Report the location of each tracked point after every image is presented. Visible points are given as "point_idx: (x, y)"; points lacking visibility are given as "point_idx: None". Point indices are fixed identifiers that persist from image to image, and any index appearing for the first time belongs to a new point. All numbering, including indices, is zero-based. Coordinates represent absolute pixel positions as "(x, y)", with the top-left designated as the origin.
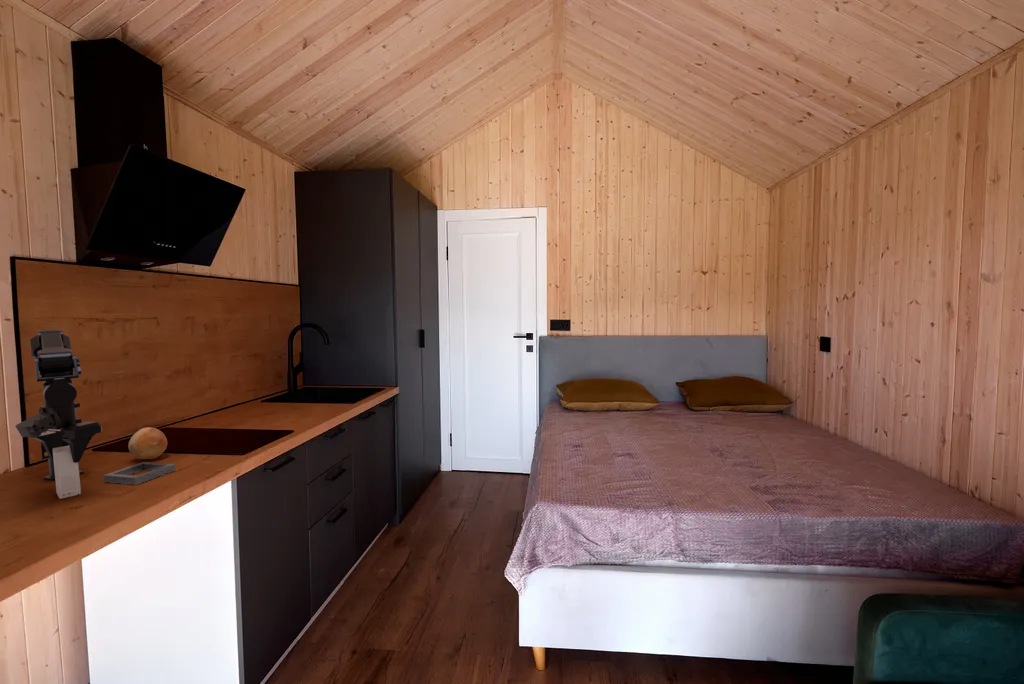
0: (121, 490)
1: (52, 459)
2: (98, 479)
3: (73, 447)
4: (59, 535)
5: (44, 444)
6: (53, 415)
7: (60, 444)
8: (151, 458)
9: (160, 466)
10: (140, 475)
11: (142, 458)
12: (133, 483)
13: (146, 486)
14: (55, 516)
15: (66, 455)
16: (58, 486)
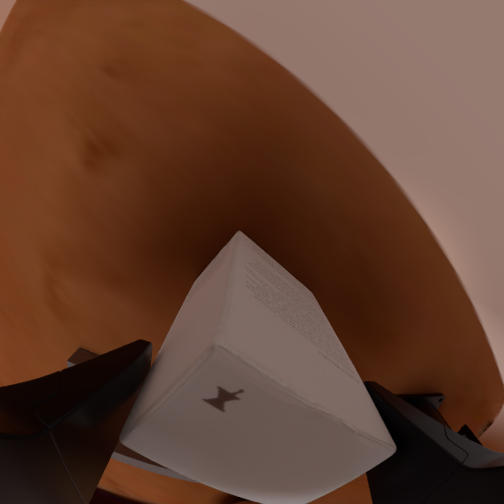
0: (82, 309)
1: (371, 385)
2: None
3: (21, 383)
4: (36, 21)
5: (465, 450)
6: None
7: (375, 496)
8: (236, 502)
9: (116, 449)
10: None
11: (251, 501)
12: (86, 354)
13: (47, 332)
14: (108, 80)
15: (167, 368)
16: (237, 241)
